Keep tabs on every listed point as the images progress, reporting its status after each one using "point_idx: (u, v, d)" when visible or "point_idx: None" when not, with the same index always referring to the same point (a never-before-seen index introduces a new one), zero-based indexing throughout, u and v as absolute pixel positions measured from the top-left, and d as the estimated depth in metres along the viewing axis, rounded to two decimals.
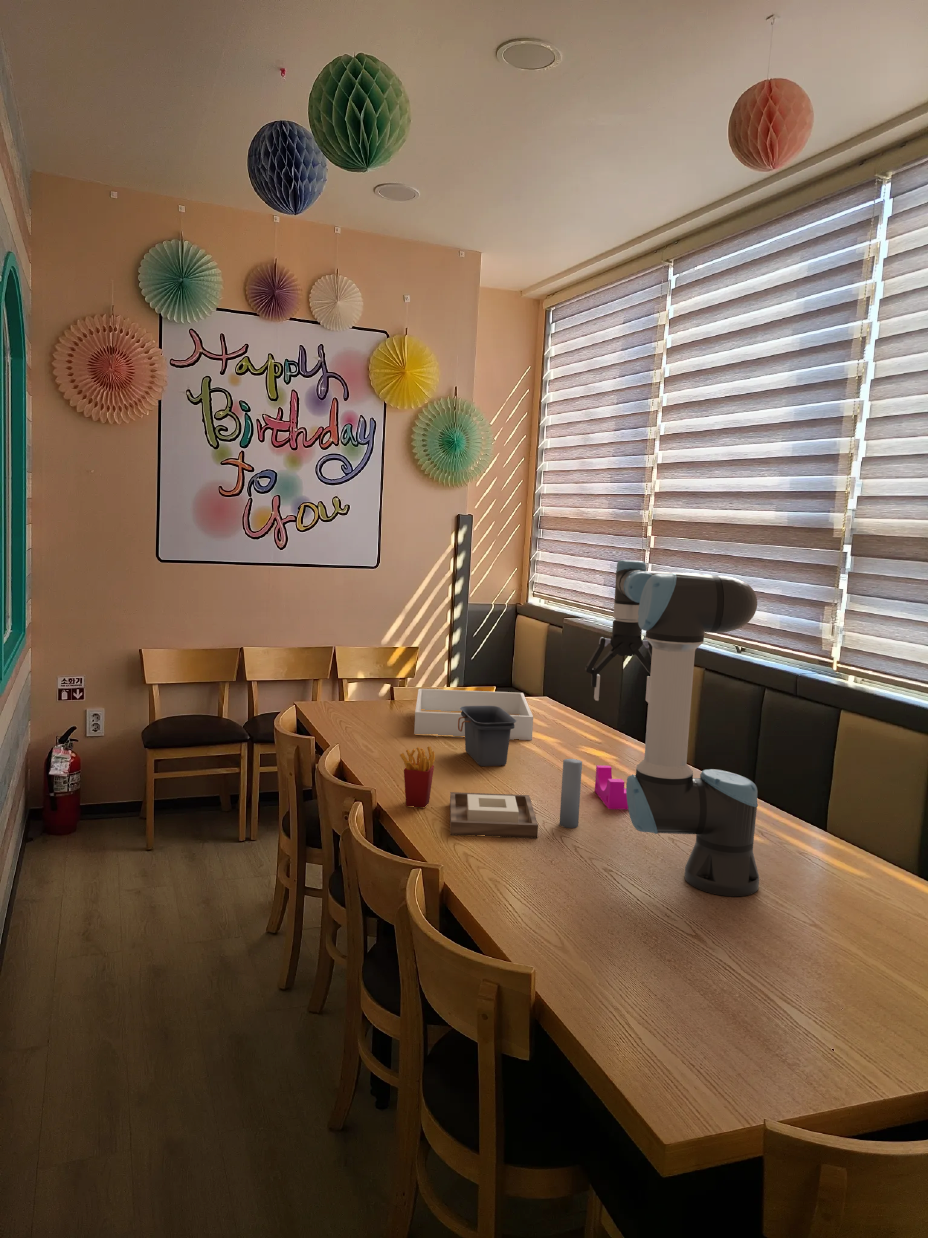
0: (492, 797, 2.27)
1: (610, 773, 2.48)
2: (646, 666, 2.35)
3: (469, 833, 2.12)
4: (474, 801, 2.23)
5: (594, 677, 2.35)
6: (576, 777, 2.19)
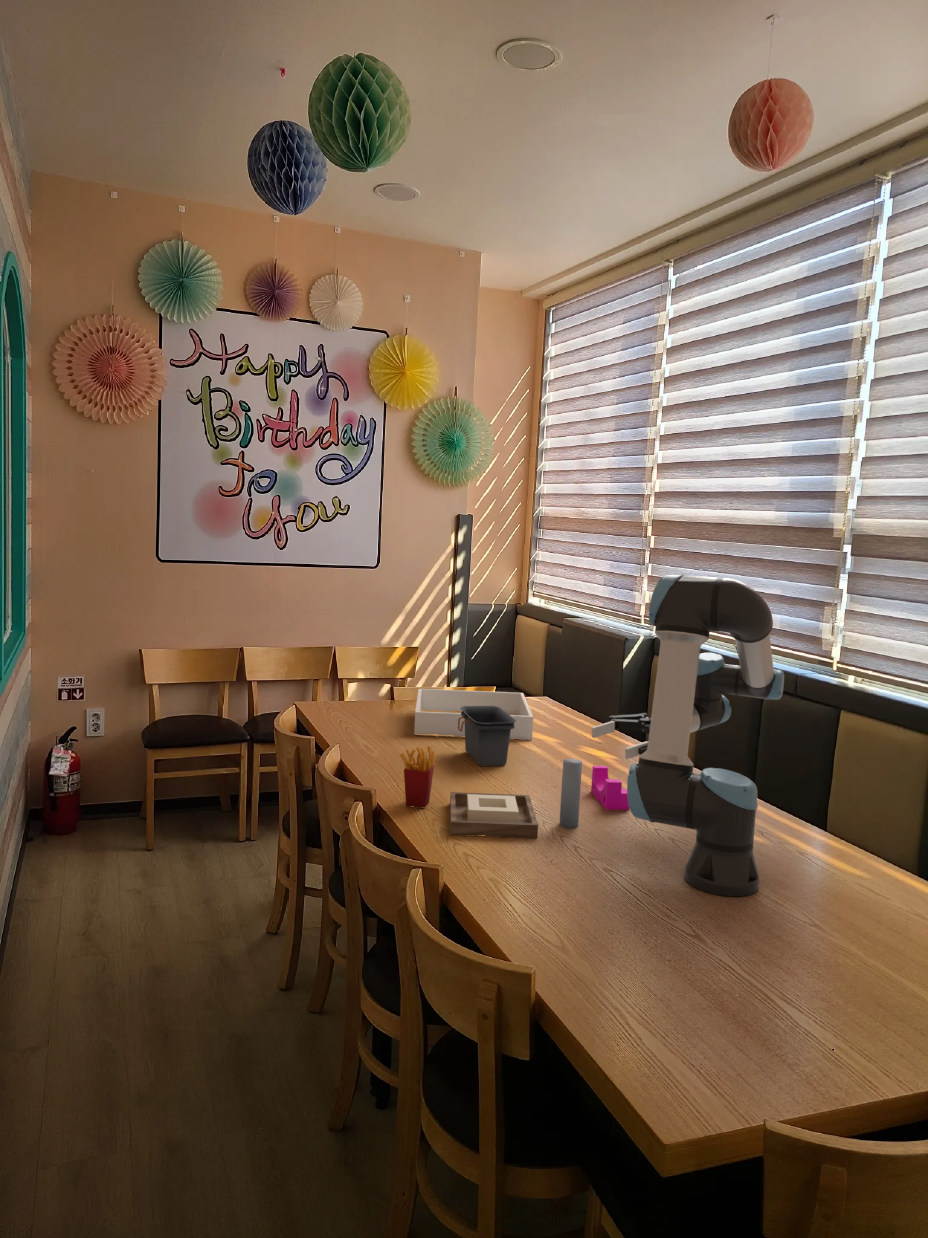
0: (492, 797, 2.27)
1: (606, 773, 2.48)
2: None
3: (469, 833, 2.12)
4: (474, 801, 2.23)
5: None
6: (576, 777, 2.19)
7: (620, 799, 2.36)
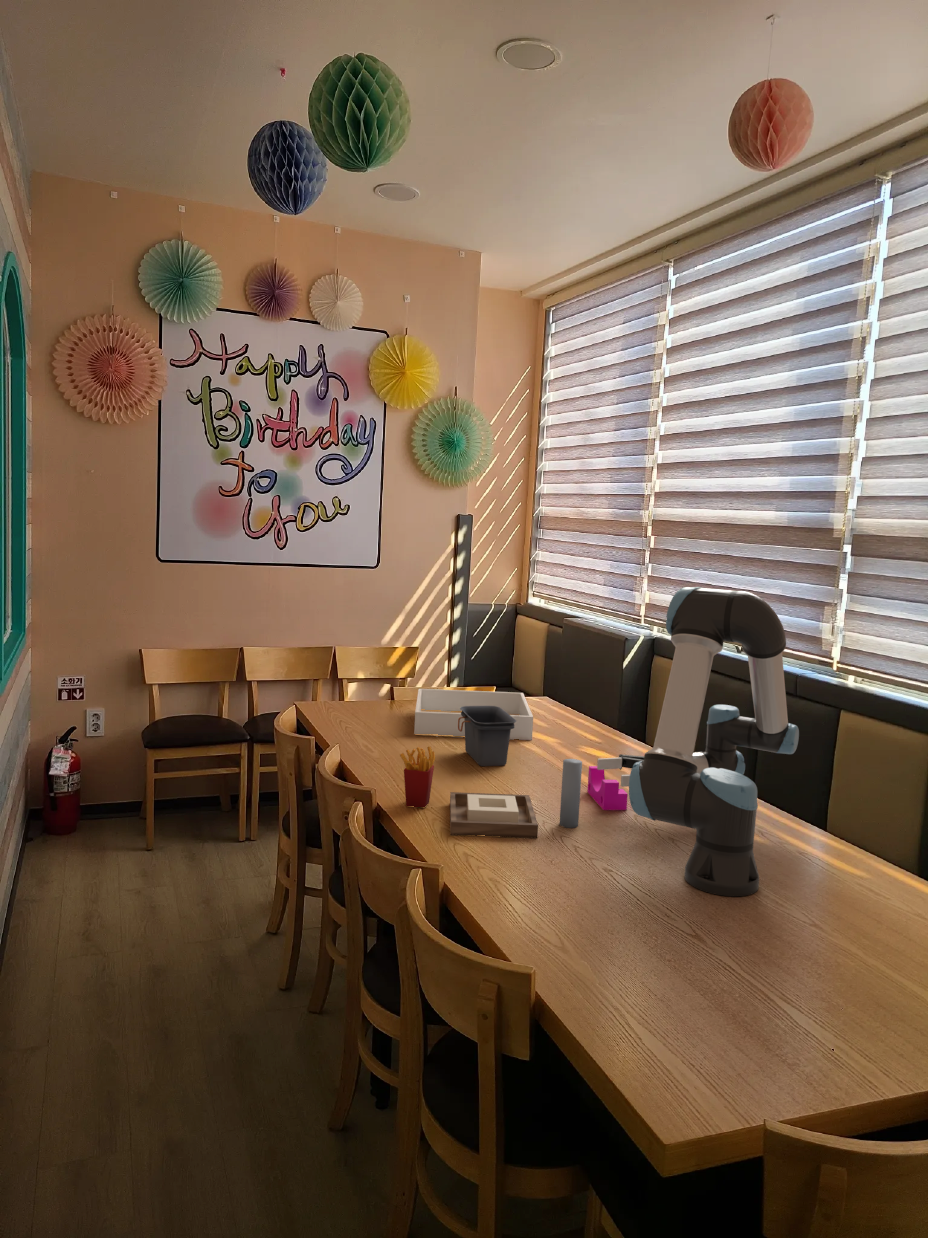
0: (492, 797, 2.27)
1: (603, 774, 2.48)
2: None
3: (469, 833, 2.12)
4: (474, 801, 2.23)
5: None
6: (576, 777, 2.19)
7: (617, 799, 2.36)
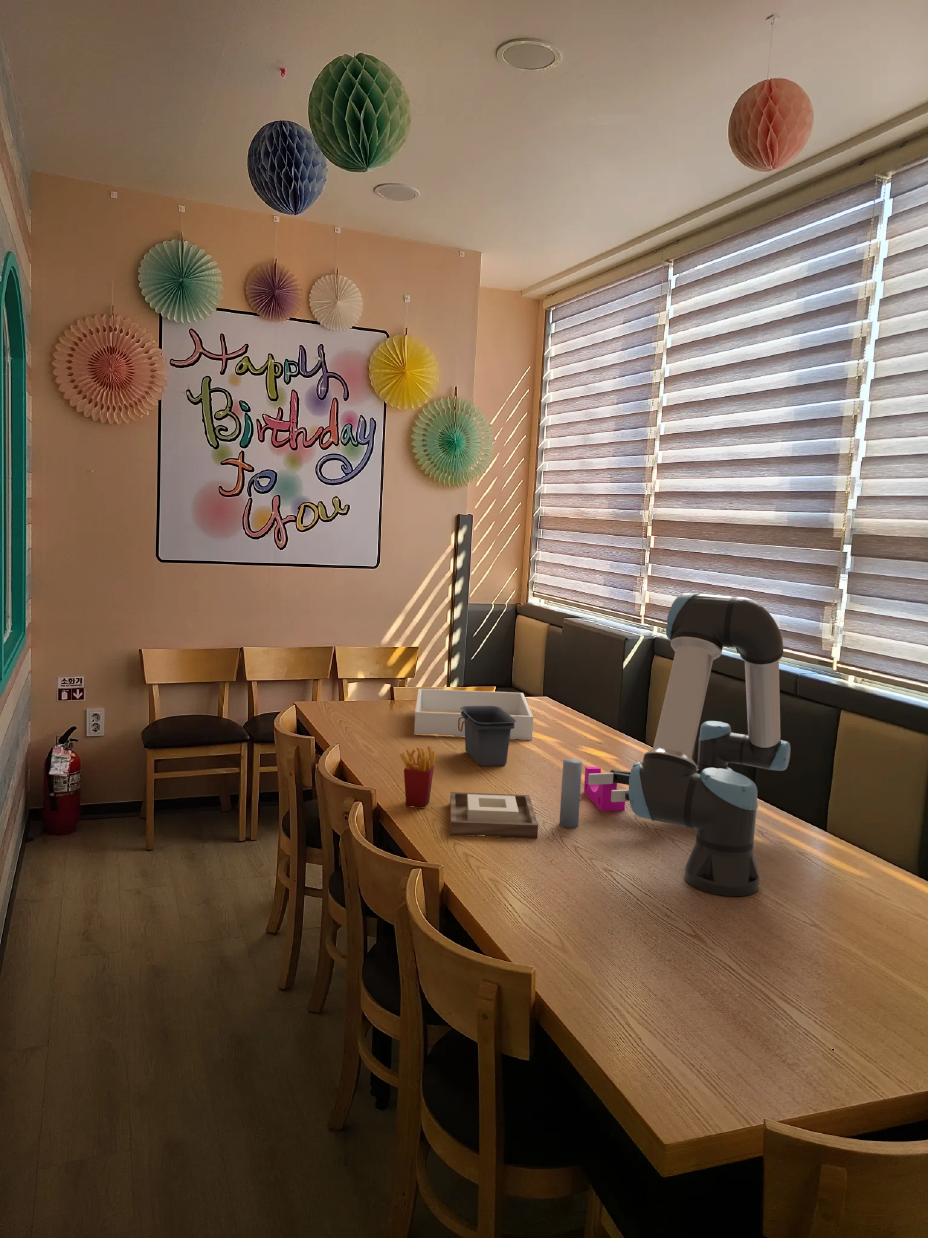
0: (492, 797, 2.27)
1: None
2: None
3: (469, 833, 2.12)
4: (474, 801, 2.23)
5: None
6: (576, 777, 2.19)
7: None
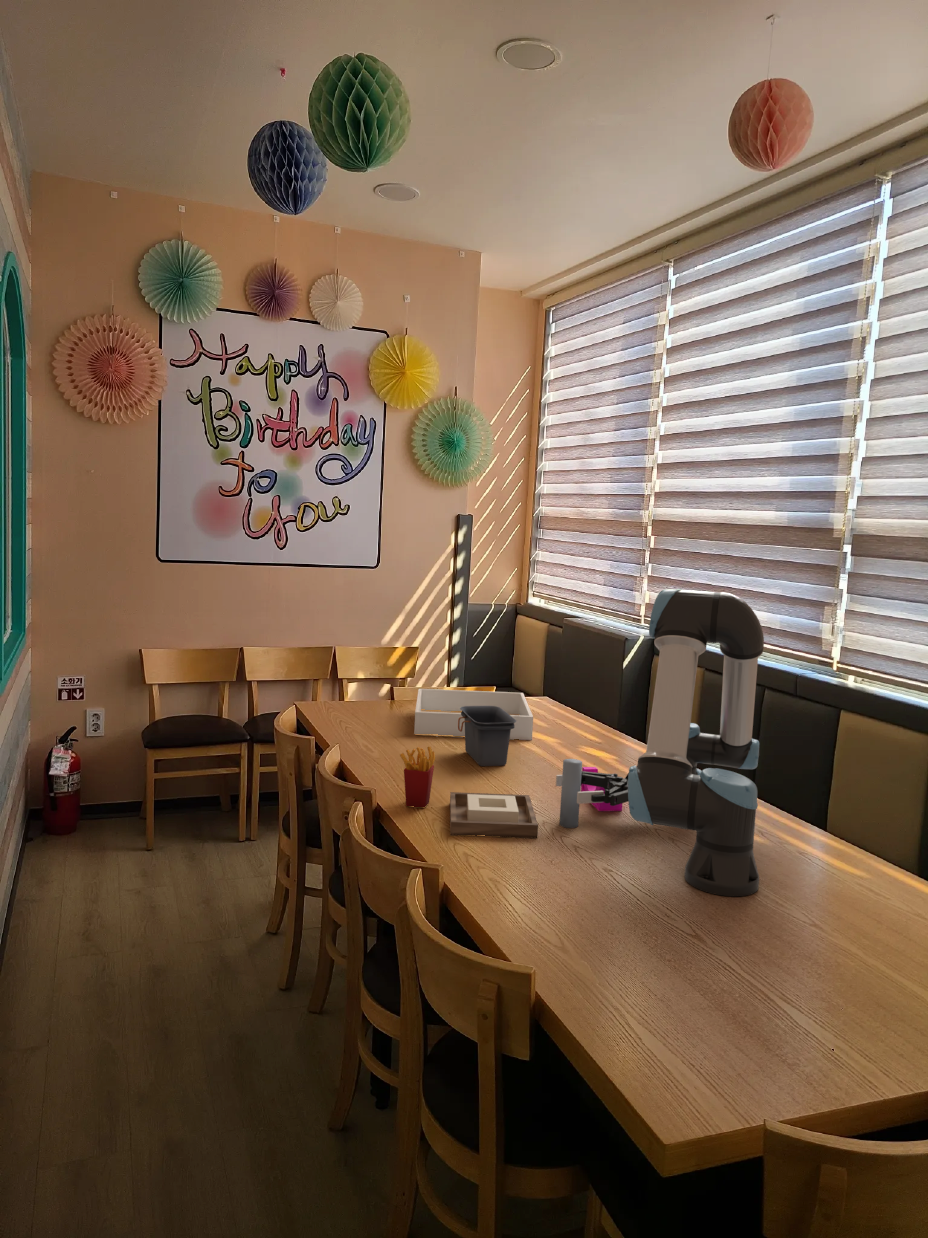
0: (492, 797, 2.27)
1: None
2: (612, 789, 2.19)
3: (469, 833, 2.12)
4: (474, 801, 2.23)
5: None
6: (576, 777, 2.19)
7: None
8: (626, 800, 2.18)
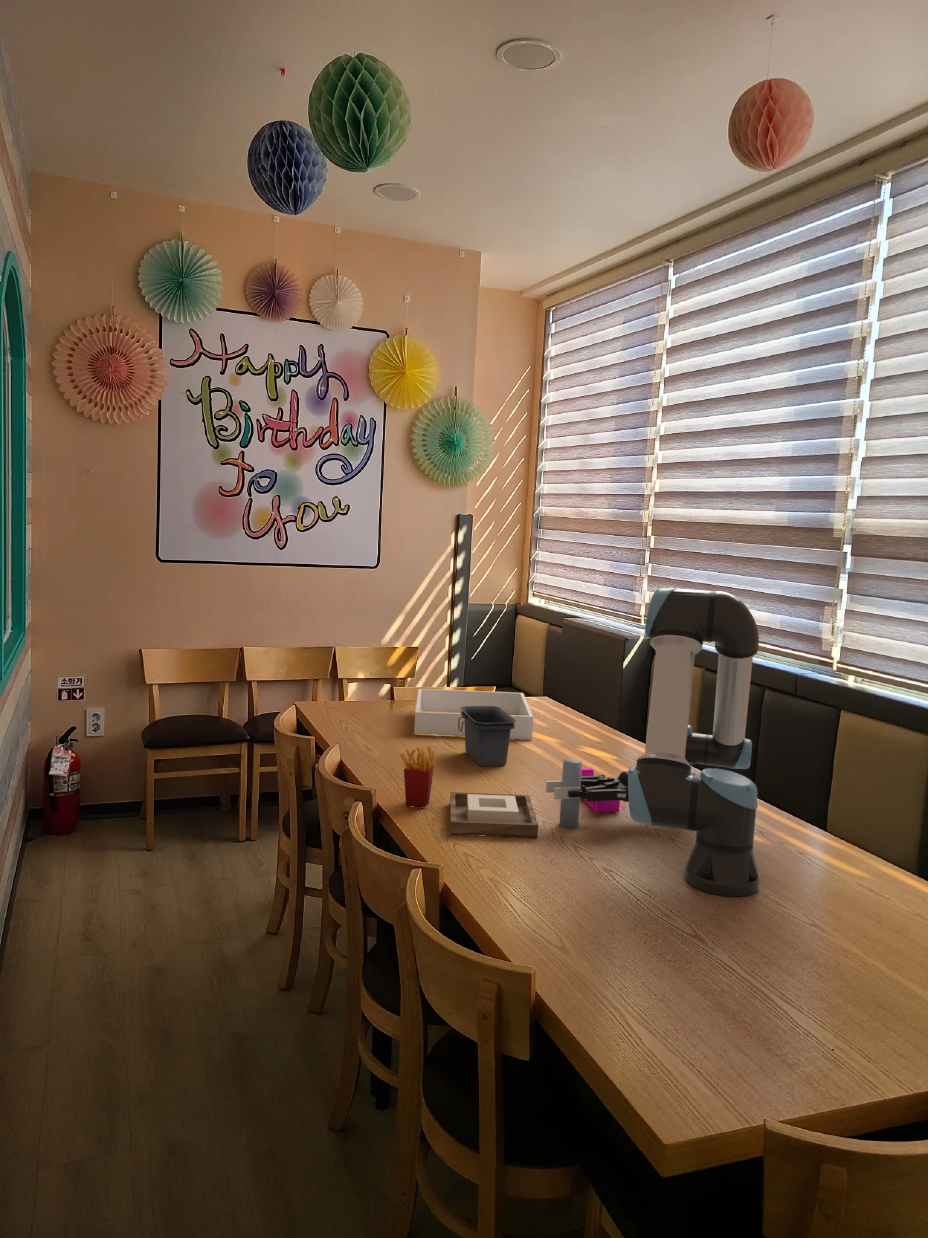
0: (492, 797, 2.27)
1: (592, 775, 2.46)
2: (594, 787, 2.21)
3: (469, 833, 2.12)
4: (474, 801, 2.23)
5: None
6: (576, 777, 2.19)
7: (610, 801, 2.34)
8: (607, 798, 2.18)
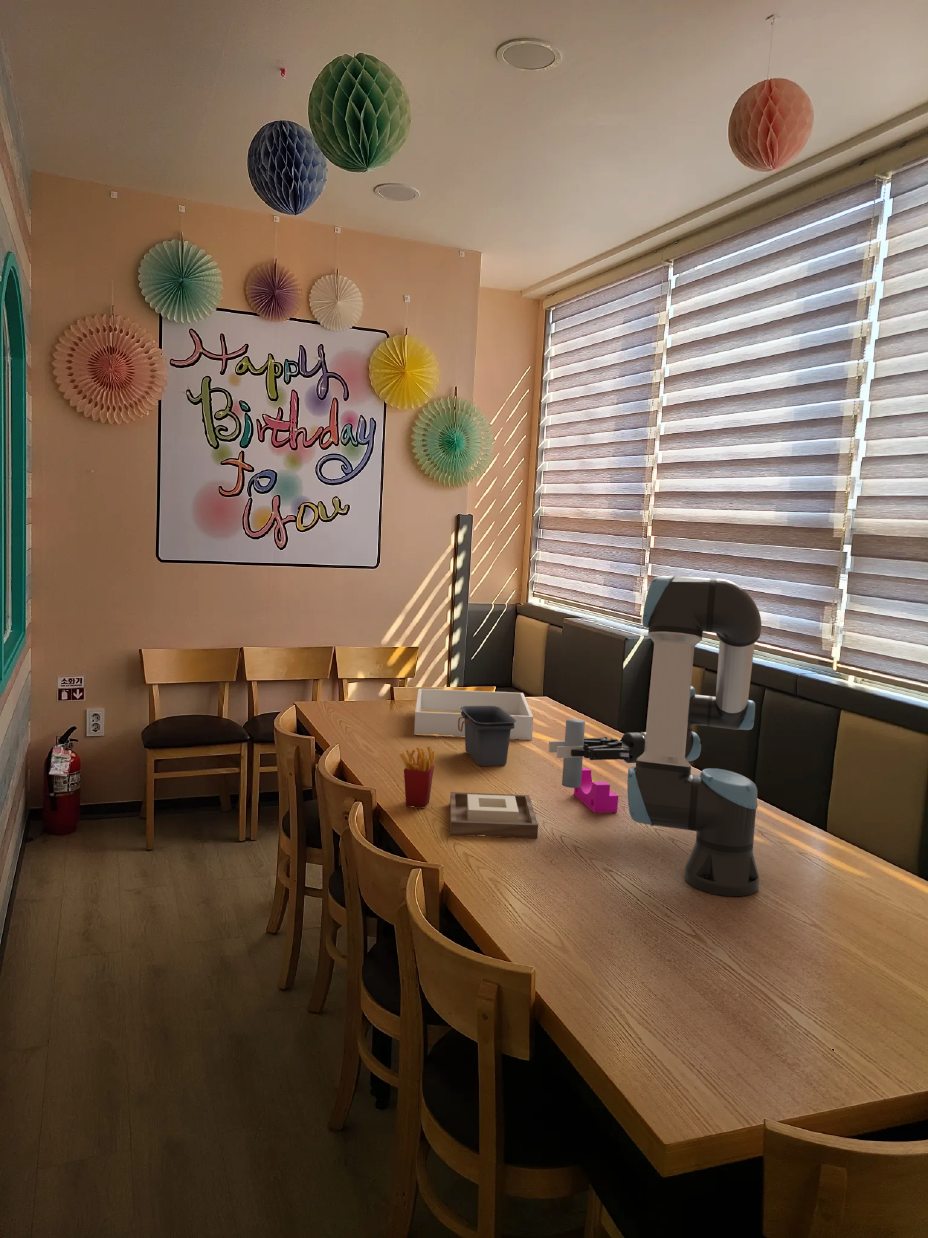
0: (492, 797, 2.27)
1: (590, 776, 2.45)
2: (597, 746, 2.20)
3: (469, 833, 2.12)
4: (474, 801, 2.23)
5: None
6: (578, 736, 2.18)
7: (608, 802, 2.34)
8: (610, 758, 2.17)
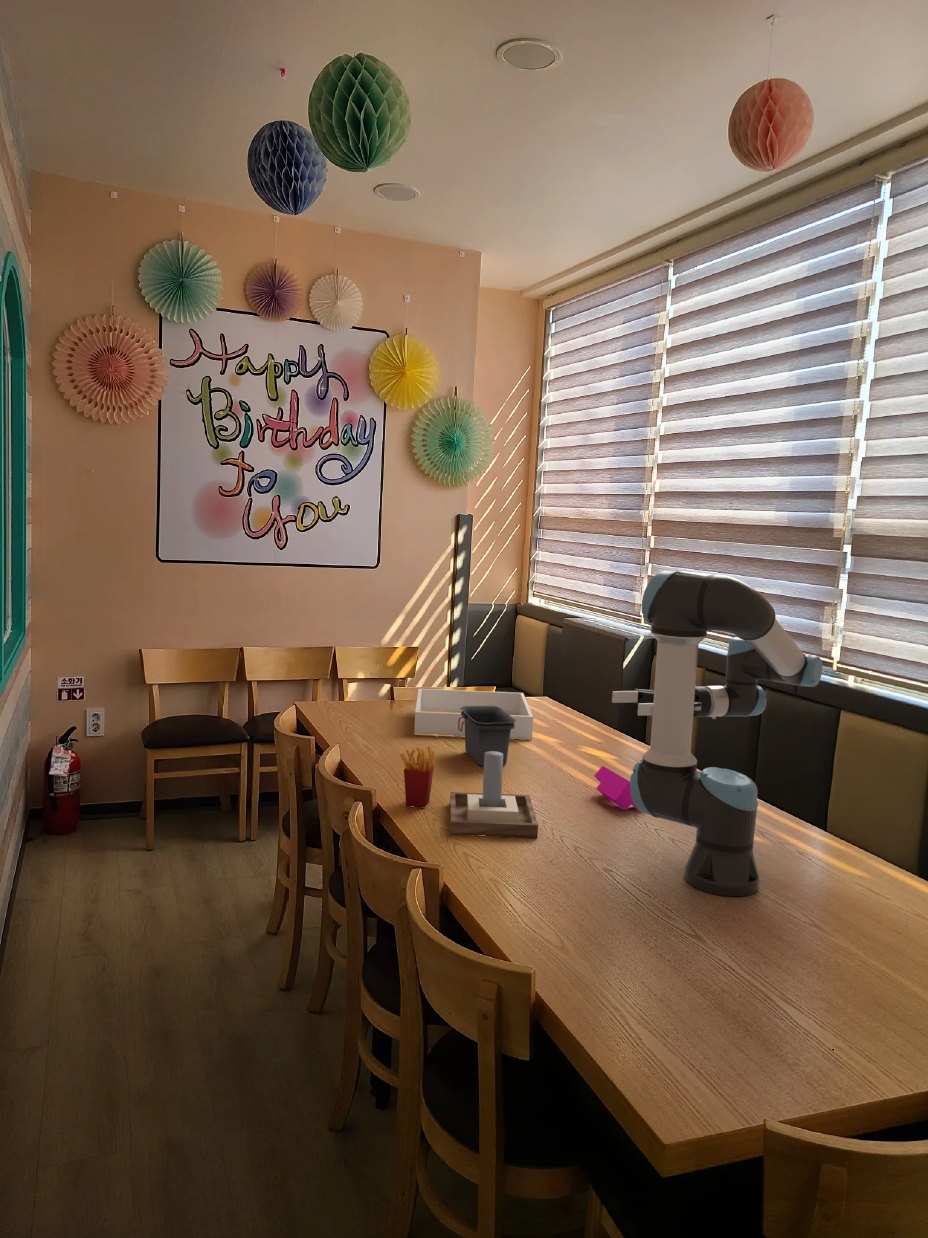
0: None
1: None
2: None
3: (469, 833, 2.12)
4: (474, 801, 2.23)
5: None
6: (496, 769, 2.21)
7: (628, 799, 2.35)
8: None
